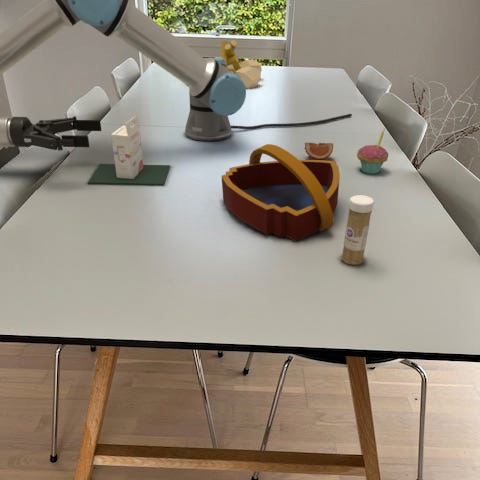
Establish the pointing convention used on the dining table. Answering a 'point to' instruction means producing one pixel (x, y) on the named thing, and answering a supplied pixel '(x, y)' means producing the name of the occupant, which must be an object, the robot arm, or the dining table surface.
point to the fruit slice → (319, 150)
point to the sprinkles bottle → (357, 229)
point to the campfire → (247, 69)
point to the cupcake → (372, 157)
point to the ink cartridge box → (127, 150)
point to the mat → (144, 177)
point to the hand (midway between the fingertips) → (94, 133)
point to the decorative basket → (283, 193)
